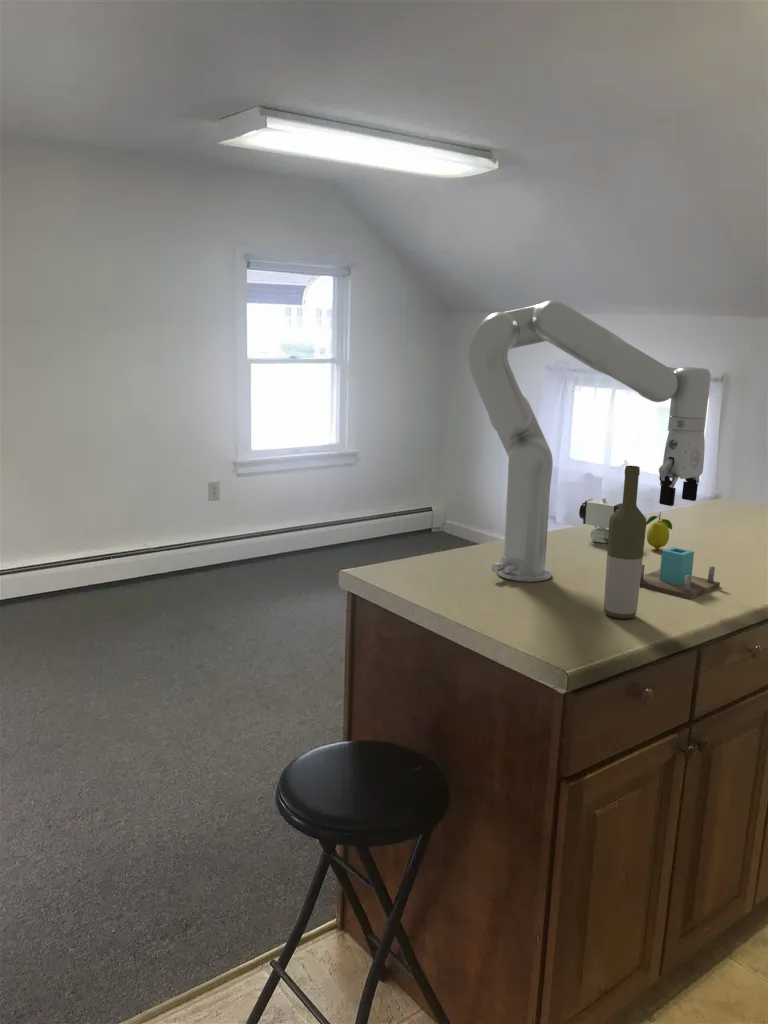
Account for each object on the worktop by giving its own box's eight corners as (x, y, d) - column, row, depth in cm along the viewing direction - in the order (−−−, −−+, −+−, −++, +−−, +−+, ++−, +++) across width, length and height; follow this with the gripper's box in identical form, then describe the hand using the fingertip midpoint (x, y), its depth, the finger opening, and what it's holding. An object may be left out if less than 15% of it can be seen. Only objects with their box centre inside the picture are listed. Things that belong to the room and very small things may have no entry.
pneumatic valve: (618, 547, 221) (621, 502, 218) (576, 539, 228) (579, 496, 225) (626, 543, 225) (629, 499, 223) (585, 536, 232) (588, 493, 230)
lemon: (642, 550, 218) (645, 513, 216) (643, 545, 223) (647, 509, 221) (669, 553, 216) (673, 515, 213) (670, 548, 221) (673, 511, 219)
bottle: (643, 614, 168) (657, 466, 162) (629, 623, 163) (643, 471, 156) (610, 607, 172) (622, 462, 166) (595, 615, 167) (607, 466, 161)
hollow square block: (680, 585, 185) (683, 555, 183) (659, 580, 188) (662, 550, 187) (691, 581, 188) (694, 551, 187) (670, 576, 192) (673, 546, 190)
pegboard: (689, 599, 179) (691, 576, 178) (630, 583, 189) (632, 562, 188) (719, 586, 188) (721, 565, 187) (662, 572, 198) (664, 552, 197)
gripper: (682, 429, 174) (673, 510, 177) (721, 425, 185) (712, 501, 189) (649, 425, 179) (641, 503, 183) (690, 421, 190) (681, 495, 194)
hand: (677, 502), depth 186 cm, fingers open, 9 cm apart
